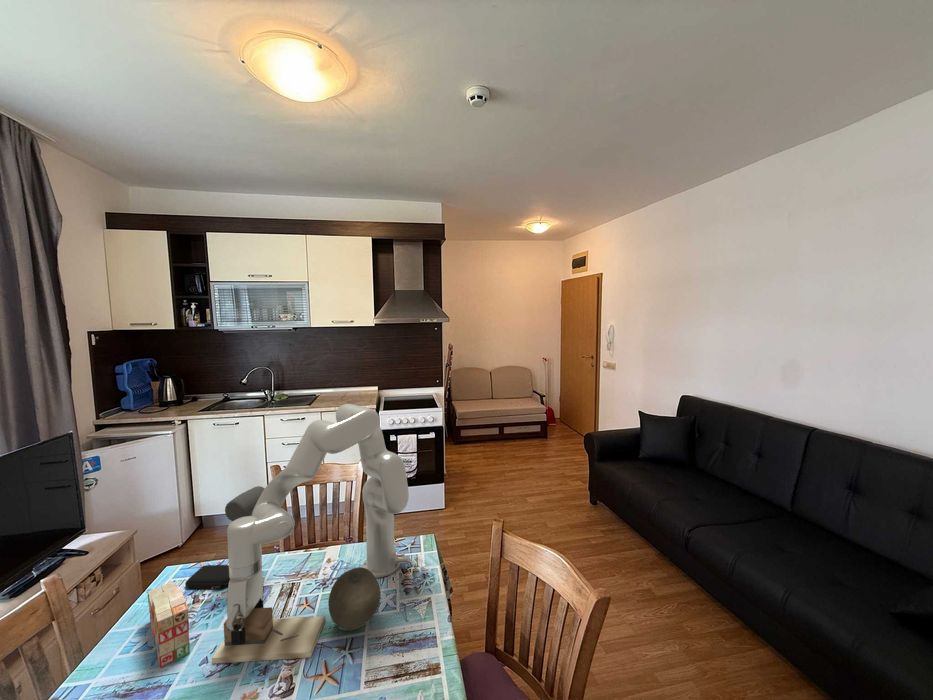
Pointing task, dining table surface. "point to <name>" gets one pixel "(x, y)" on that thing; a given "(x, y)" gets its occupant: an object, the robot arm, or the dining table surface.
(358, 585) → the cantaloupe
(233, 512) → the rubber mallet
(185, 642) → the stack of blocks
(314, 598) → the dining table surface
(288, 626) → the birch board
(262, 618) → the sanding block
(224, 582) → the carrying case or bag
